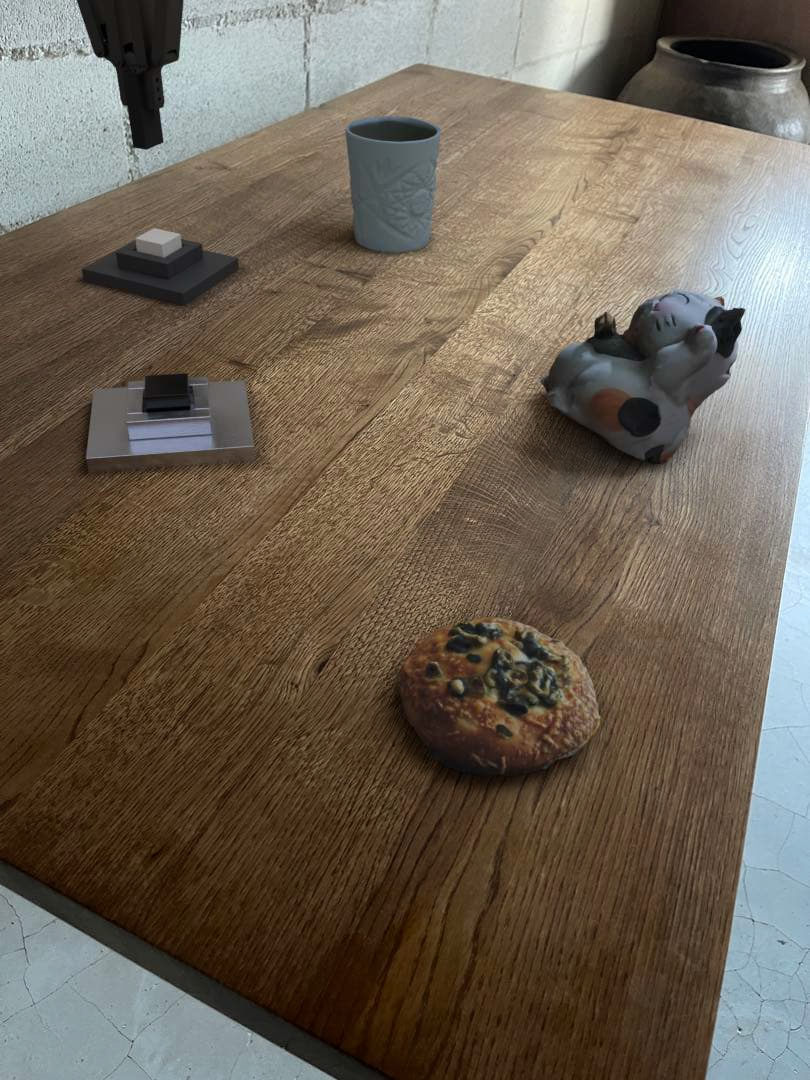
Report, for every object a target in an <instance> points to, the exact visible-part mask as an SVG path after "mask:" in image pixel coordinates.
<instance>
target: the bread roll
mask: <svg viewBox="0 0 810 1080" xmlns="http://www.w3.org/2000/svg"><path fill="white" fill-rule="evenodd" d="M398 689H399V695H400V700H401V708H402V710H403V711H402V712H403V713H404V716H405V718H406V720H407V722H408V723H409V725H410V726H412V727H413V728H414V730H415V732H416V734H417V736H418V738H419V740H420V741H421V743H422V744H423V745H424V746H425V747H426V748H427V749H428V752H429V753H430V754H431V756H432V758H433V760H435V761H438V763H439V764H440V765H443V767H444V768H445V767H446V768H449V769H452V770H454V771H456V772H461V773H465V774H472V775H477V776H482V777H487V778H491V777H492V778H493V777H496V775H501V776H502V777H510V776H518V775H519V776H521V775H522V776H523V775H525V774H527V775H528V774H529V773H534V772H537V771H540V770H544V769H548V768H550V767H551V765H552V764H553V763H554V762H556V761H558V760H561V759H564V758H569V757H571V756H574V755H576V754H577V753H579V751H580V750H583V747H586V745H588V744H589V741H590V739H591V738H592V736H594V735H595V734H596V732H597V731H598V729H599V727H600V725H601V718H602V717H601V716H600V714H599V703H598V702H597V695H596V691H595V688H594V683H593V680H592V678H591V677H590V674H589V672H588V668H587V667H586V666H585V665H584V663H583V662H582V660H581V658H580V656H578V655H576V653H575V652H574V651H573V650H571V649H570V648H569V647H567V646H565V644H564V642H563V641H562V640H559V639H556V638H552V637H550V636H548V635H546V634H545V633H542V632H540V631H539V630H538V629H537V628H535V627H534V626H531V625H528V624H523V623H522V622H519V621H515V620H512V619H509V618H508V619H507V618H501V617H480V618H477V619H475V620H471V621H469V620H468V621H466V622H458V623H451V624H448V625H446V626H443V627H440V628H438V629H436V630H435V631H434V632H432V633H430V634H429V635H428V636H427V637H425V638H422V639H420V640H419V641H418V642H416V646H415V647H414V650H413V651H412V652H411V653H410V654H409V656H408V658H407V659H406V660H405V661H404V663H403V664H402V667H401V670H400V673H399V686H398Z"/></svg>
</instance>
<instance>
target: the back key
mask: <svg viewBox="0 0 810 1080" xmlns="http://www.w3.org/2000/svg"><path fill="white" fill-rule="evenodd" d="M181 236H182V235H181V233H179V232H173V231H168V230H164V229H160V228H157V227H156V228H155V227H154V228H151V229H150V230H148V231H146V232H144V233H142V234H141V235H139V236H136V237H135V239H134V240H136V247H137V251H138V252H142V253H146V254H151V255H155V256H159V257H164V258H165V257H166V256H168V255H170V254H171V253H173V252H175V251H176V250H178V249H180V248H182V244H181V239H182V237H181Z"/></svg>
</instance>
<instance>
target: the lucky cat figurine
mask: <svg viewBox="0 0 810 1080" xmlns="http://www.w3.org/2000/svg"><path fill="white" fill-rule="evenodd" d="M725 303H726V302H725V299H724V298H723V297H722V296H716V297H710V296H709V295H707V294H706V293H701V292H699V291H689V290H685V289H682V288H679V289H676V290H673V291H672V292H671V291H670V292H667V293H665V294H661V295H657V296H653V297H652V298H648V299H646V300H645V301H643V302H642V303H641V304H640V305H639V306H638V307H637V309H636V310H635V311H634V312H633V315H632V317H631V319H630V323H629V326H628V328H627V329H625V330H624V331H623V333H622V334H621V333H619V332H618V329H617V321H616V318H615V316H614V315H613V314H610V313H609V312H608V311H604V312H603V313H602V314H601V315H600V316H598V317H596V318H595V319H594V322H593V323H594V326H593V328H594V333H593V335H592V336H590V337H587V338H586V340H585V341H581V342H573V343H571V344H569V345H568V346H567V347H565V348H564V349H563V350H561V351H560V352H559V353H558V355H557V356H555V357H556V358H555V359H554V361H553V363H552V364H551V366H550V367H549V370H548V375H544V376H542V377H541V378H540V380H539V383H540V384H541V385H542V387H544V389H545V392H546V394H545V396H543V399H546V401H547V402H548V403H549V404H550V406H551V407H553V408H555V409H556V410H558V411H559V413H561V414H562V415H564V416H566V417H567V418H570V419H571V420H573V421H574V422H576V423H578V424H580V425H582V426H583V427H585V428H587V429H589V430H590V431H591V432H594V433H595V434H597V435H599V436H601V437H602V438H603V439H604V440H606V442H607V443H609V444H610V445H611V446H612V447H614V448H615V449H617V450H619V451H620V452H622V453H625V454H626V455H628V456H629V455H630V456H631V457H634V458H636V459H638V460H641V461H646V460H648V459H649V460H650V461H651V463H652V464H656V463H658V464H662V463H663V462H665V461H667V460H668V459H670V458H672V457H673V456H674V455H675V454H676V453H677V451H678V450H679V448H680V447H681V445H682V443H683V441H684V439H685V438H686V435H687V433H688V431H689V428H690V426H691V425H690V424H691V419H692V417H693V415H694V414H695V412H696V411H697V409H698V408H699V407H700V406H701V405H702V404H703V403H704V402H705V401H706V400H707V399H708V398H709V397H710V396H712V395H713V394H714V393H716V391H718V390H720V389H722V388H723V387H724V386H725V385H726V384H727V383H728V381H729V380H730V378H731V377H732V374H731V367H732V366H733V365H734V364H735V362H736V361H737V358H738V350H739V342H738V338H739V336H740V335H741V333H742V330H743V326H742V319H743V317H744V315H745V313H746V308H744V307H732V309H727V308H725V305H726V304H725Z"/></svg>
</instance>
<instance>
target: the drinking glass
mask: <svg viewBox="0 0 810 1080" xmlns="http://www.w3.org/2000/svg"><path fill="white" fill-rule="evenodd" d="M344 131H345V139H346V150H347V157H348V169H349V178H350V180H349V187H350V200H351V204H352V205H351V206H352V210H353V214H352V223H353V234H354V235H353V236H354V239H355V241H356V243H357V244H358V245H360V246H362V247H363V248H366V249H368V250H372V251H376V252H381V253H389V254H396V253H397V254H398V253H399V254H400V253H408V252H409V253H410V252H417V251H419V250H422V249H424V248H425V247H426V246H427V245H428V244H429V242H430V237H431V231H432V220H433V219H432V216H433V207H434V201H435V192H436V191H435V190H436V179H437V174H436V170H437V168H438V159H439V151H440V145H441V144H440V143H441V135H442V130H441V128H440V127H439V126H438V125H437V124H435V123H433V122H431V121H428V120H424V119H421V118H417V117H410V116H400V115H399V116H397V115H383V116H382V115H381V116H370V117H364V118H360V119H356V120H353V121H351V122H349V123H348V124H347V125H346V126H345V130H344Z"/></svg>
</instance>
